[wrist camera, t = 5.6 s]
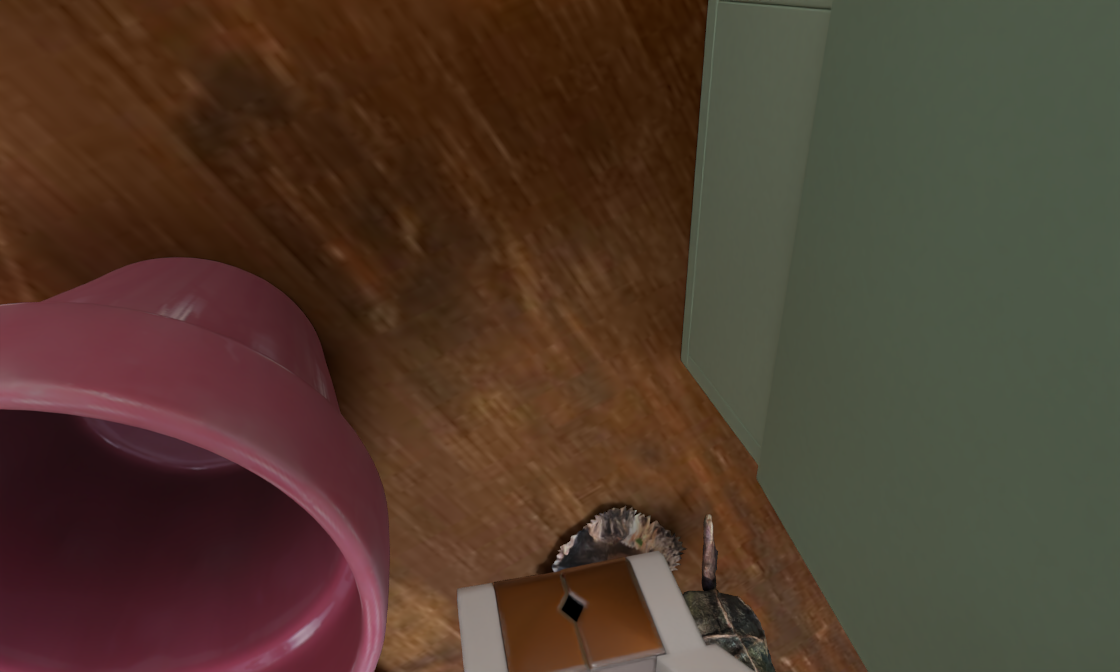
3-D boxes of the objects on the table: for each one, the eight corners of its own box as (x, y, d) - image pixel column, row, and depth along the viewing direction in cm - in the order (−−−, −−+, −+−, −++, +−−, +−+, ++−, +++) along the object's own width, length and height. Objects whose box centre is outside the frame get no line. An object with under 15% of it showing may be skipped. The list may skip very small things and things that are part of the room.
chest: (1020, -36, 25) (1250, -40, 18) (920, 326, 32) (1056, 418, 26) (709, -27, 23) (840, -27, 16) (679, 360, 30) (760, 469, 24)
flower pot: (436, 448, 30) (460, 726, 19) (122, 545, 29) (-49, 902, 18) (309, 134, 22) (226, 290, 11) (-121, 248, 21) (-672, 542, 10)
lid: (2039, -26, 4) (1937, -20, 4) (1091, 981, 12) (1050, 988, 12) (867, -28, 16) (835, -27, 16) (777, 476, 23) (755, 478, 23)
